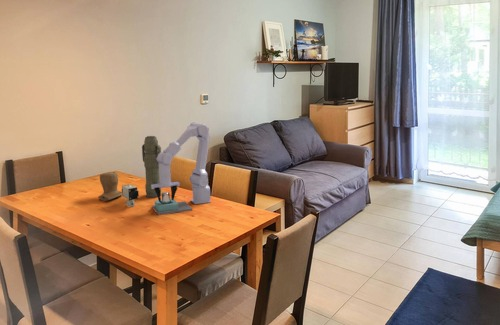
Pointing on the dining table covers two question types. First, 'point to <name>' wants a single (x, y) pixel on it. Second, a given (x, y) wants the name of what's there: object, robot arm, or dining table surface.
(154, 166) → the stone statue
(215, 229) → the dining table surface
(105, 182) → the brown upright piece
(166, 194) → the pin
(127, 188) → the pneumatic valve
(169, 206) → the block
